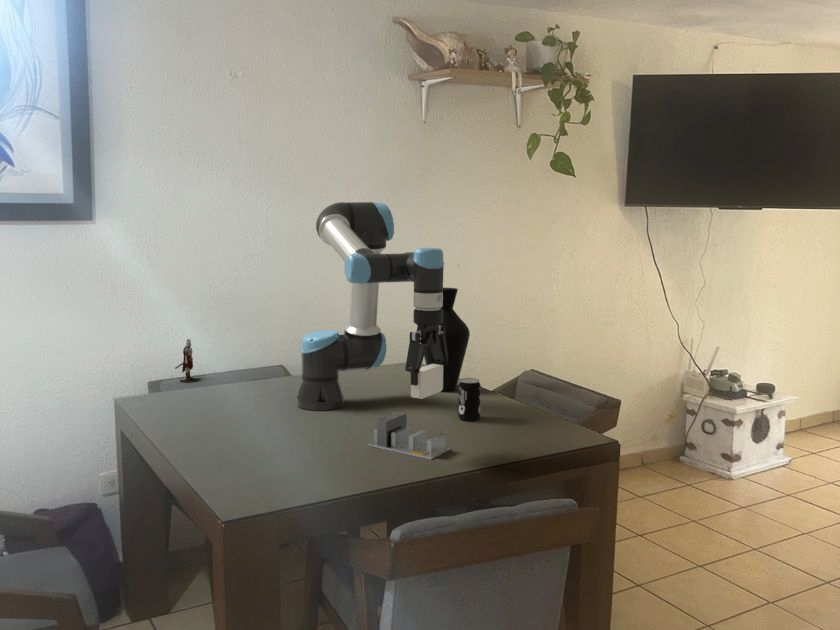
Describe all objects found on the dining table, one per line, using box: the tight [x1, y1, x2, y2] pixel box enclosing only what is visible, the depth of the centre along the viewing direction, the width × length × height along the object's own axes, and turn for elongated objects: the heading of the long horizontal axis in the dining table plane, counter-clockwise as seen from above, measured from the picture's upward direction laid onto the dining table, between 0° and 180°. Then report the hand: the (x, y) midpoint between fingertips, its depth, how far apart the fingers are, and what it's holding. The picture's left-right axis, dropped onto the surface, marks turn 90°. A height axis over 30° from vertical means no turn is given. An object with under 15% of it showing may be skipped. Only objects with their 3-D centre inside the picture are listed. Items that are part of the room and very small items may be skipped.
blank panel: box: [413, 364, 442, 400], centre depth 207 cm, size 3×10×7 cm, turn 148°
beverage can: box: [457, 377, 482, 422], centre depth 239 cm, size 7×7×12 cm
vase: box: [424, 287, 471, 393], centre depth 273 cm, size 17×17×35 cm
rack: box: [367, 411, 452, 460], centre depth 212 cm, size 20×10×8 cm, turn 58°
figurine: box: [174, 339, 200, 384], centre depth 283 cm, size 7×7×15 cm
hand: (427, 392), depth 207 cm, fingers closed on blank panel, 10 cm apart
